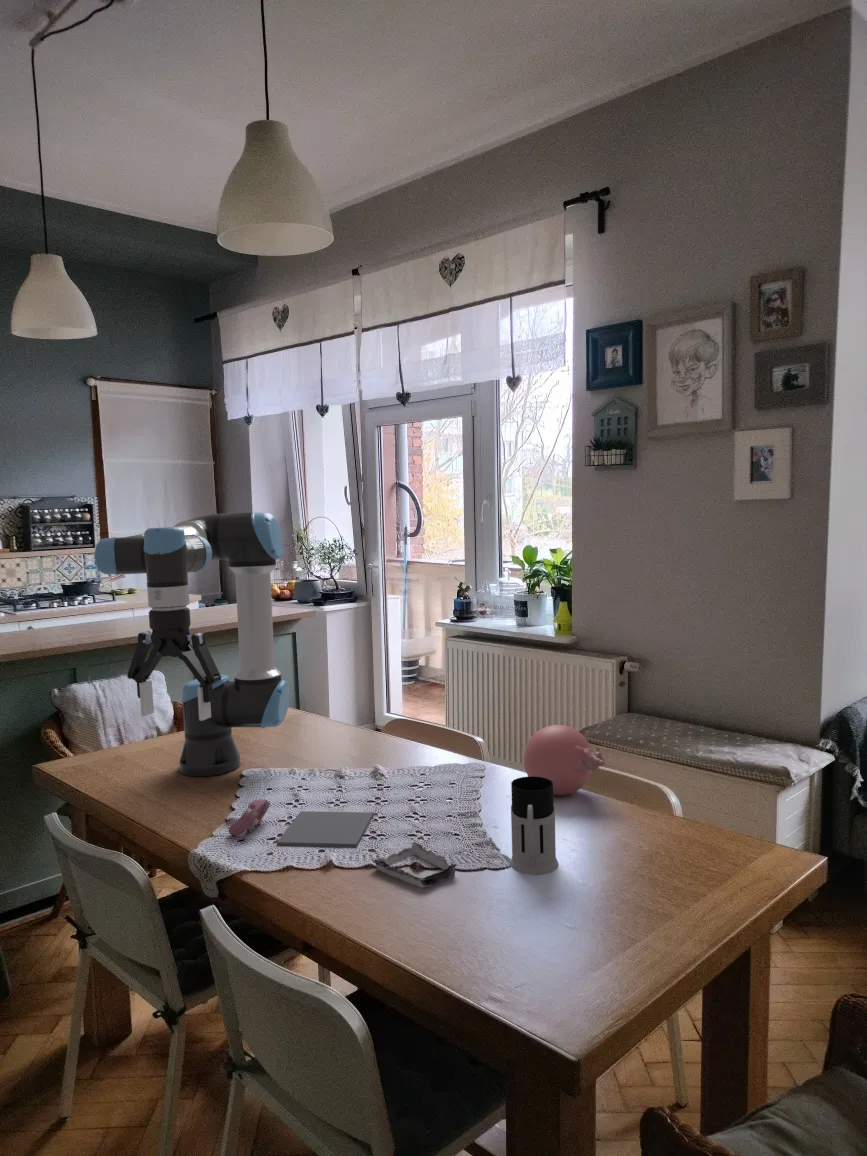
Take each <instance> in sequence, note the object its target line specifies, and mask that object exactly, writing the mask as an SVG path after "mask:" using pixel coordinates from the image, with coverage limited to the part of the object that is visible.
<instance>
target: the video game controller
mask: <svg viewBox="0 0 867 1156" xmlns="http://www.w3.org/2000/svg"><path fill="white" fill-rule="evenodd" d="M270 806H271V802H270V801H269V800H267V799H262V798H261V797H259V799H256V800H255V799H254V800H252V801H251V802H249V804H248V806H247V808H246V809H245V810H244V812H243V813H242V814H241V816H240V817H239V819H237V820H236V821H235V822H234V823H233V824H231V826H230V827H229V829H228V834H229V835H230V834H231V835H238V836H240V835H242V834H243V833H244V834H245V832H249V831H251V830H252V829H253V830H254V828H255V826H256V827H257V826H258V825H259V824H261V823H262V819H263V818H264V817H265V815H266V813H267V812H268V810H269V808H270ZM253 830H252V831H253ZM252 831H251V832H252ZM231 835H230V836H231Z"/></svg>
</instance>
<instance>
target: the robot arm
mask: <svg viewBox="0 0 867 1156" xmlns="http://www.w3.org/2000/svg"><path fill="white" fill-rule="evenodd" d="M283 550H284V539H283V534H282V529H281V527H280V524H279V522H278V519H277V518H276V517H275V516H274V515H273V514H271V513H270V512H259V511H258V512H256V511H253V512H235V513H234V512H233V513H230V512H229V513H212V514H211V513H210V514H206V515H202V516H198V517H194V518H189V519H187V520H182V521H180V522H178V523H176V524H174V526H165V527H149V528H147V529H145V531H144V533H140V534H135V535H130V536H124V537H121V536H120V537H116V536H113V537H107V538H101V539H100V540H99V541H98V542H97V544H96V545H95V549H94V559H95V561H94V562H95V564H96V565H95V566H96V568H97V569H98V570H99V571H100V572H101V573H102V574H104V575H116V576H118V575H131V574H132V575H133V574H134V575H138V574H139V575H140V574H146V575H145V576H146V587H147V589H146V590H147V604H148V607H149V608H151V609H150V610H149V612H148V622H149V629H150V630H151V631H150V630H148V631H143V632H139V633H138V634H137V645H136V649H135V652H134V654H133V657H132V659H131V663H130V665H129V668H128V672H127V674H126V676H127V678H128V679H129V680H134V681H135V683H136V691H137V692H136V693H137V698H138V699H139V701H140V714H141V715H140V716H141V717H147V716H149V715H152V714H154V713H155V712H154V711H155V710H154V709H155V708H154V693H153V680H151V678H150V676H151V675H152V673H153V672H154V670H155V668H156V667H157V666H158V664H159V662H160V661H161V659H162V658H163V657H168V656H169V657H172V658H179V660H182V661H183V663H184V664H185V665H186V667H187V668H188V670H189V671H190V672H191V673H192V675H193V676H194V677H195V679H193V680H190V681H187V682H186V683H185V684H184V685H183V686H182V691H181V692H182V694H181V695H182V697H181V698H182V700H181V703H182V704H181V705H182V715H183V716H182V717H183V728H184V730H183V731H184V742H183V746H182V750H181V754H180V758H179V760H178V761H179V763H178V764H179V772H180V773H181V774H182V775H185V776H189V777H210V776H218V775H223V774H226V773H229V772H232V771H234V770H236V769H238V768H239V767H240V766H241V764H242V763H241V753H240V752H239V749H238V746H237V744H236V741H235V739H234V737H233V732H232V730H233V728H234V729H235V728H261V729H265V728H276V727H279V726H280V725H282V723H283V722H284V721H285V719H286V717H287V713H288V710H289V704H290V696H291V690H290V684H289V682H288V681H287V680H285V679H282V672H281V670H279V669H278V668H277V667H276V666H275V649H274V648H275V646H274V645H275V643H274V625H273V624H274V623H273V604H272V601H273V600H272V581H271V579H272V578H271V574H272V571H273V570H274V569H275V568H276V567H277V560H280V559H281V558H282V557H283V553H284V551H283ZM211 561H228V569H229V570H230V571H232V572H233V574H234V575H235V576H234V577H235V590H236V592H235V593H236V610H237V611H236V612H237V634H238V637H237V638H238V653H239V669H238V671H237V672H236V673H235V674H234V677H233V678H234V679H233V680H234V681H230V677H229V675H228V674H221V673H220V672H219V669H218V667H217V665H216V663H215V660H214V658H213V657H212V654H211V652H210V650H209V648H208V646H207V643H206V637H205V633H204V632H199V633H194V634H191V633H190V627H191V623H192V622H191V609H190V608H189V607H187V606H189V605H190V593H189V592H190V591H189V581H188V579H189V578H188V577H189V576H188V575H189V574H190V573H196V572H199V571H201V570H202V569H204V568H205V569H206V567H208V565H209V564H210V562H211ZM188 573H189V574H188ZM152 644H153V647H152V648H151V646H152ZM150 648H151V650H150ZM148 653H149V654H148ZM148 655H149V656H148Z"/></svg>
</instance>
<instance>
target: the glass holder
mask: <svg viewBox="0 0 867 1156" xmlns="http://www.w3.org/2000/svg"><path fill="white" fill-rule="evenodd" d="M510 785H511V788H510V789H511V806H510V814H511V815H510V817H511V818H510V820H511V821H510V825H511V855H512V856H511V859H510V861H509V866H510V867H511V868H512V869H513V870H514V871H516V872H518V873H521V874H526V875H535V876H536V875H539V876H540V875H545V874H549V873H552V872H553V871H556V869H558V867H559V861H558V859H557V853H556V849H557V848H556V813H555V812H556V811H555V810H556V809H555V805H554V804H555V803H554V802H555V801H554V795H553V782H552V781H551V780H549V779H547V778H543V777H534V776H529V777H528V776H522V777H517V778H515V779H513V780H512V781H511V783H510Z"/></svg>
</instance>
